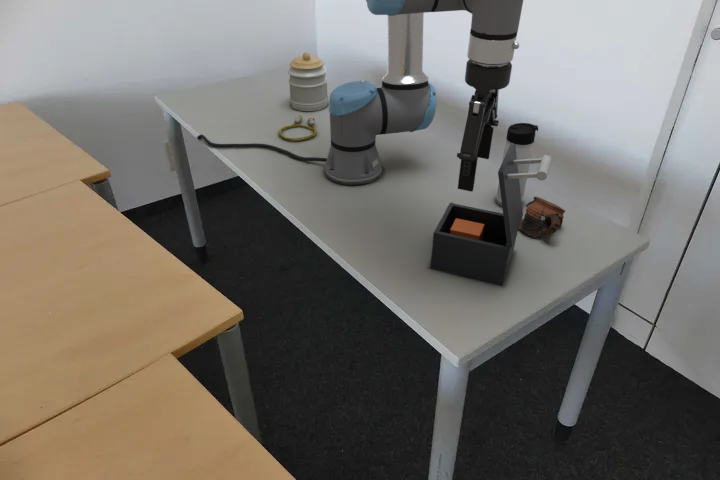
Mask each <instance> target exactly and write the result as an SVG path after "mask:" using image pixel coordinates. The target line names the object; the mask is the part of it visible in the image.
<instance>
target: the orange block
mask: <svg viewBox="0 0 720 480" xmlns="http://www.w3.org/2000/svg"><path fill="white" fill-rule="evenodd" d="M484 225H485V224H481V223H477V222H472V221H467V220H462V219H457V218H456V219H455V221H454V223H453V225H452V227H451V229H450V234H453V235H458V236H462V237H467V238H471V239H476V240H480V241H482V237H483V231H484Z"/></svg>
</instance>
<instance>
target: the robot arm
mask: <svg viewBox="0 0 720 480" xmlns="http://www.w3.org/2000/svg"><path fill="white" fill-rule="evenodd" d="M365 2H366V6H367V9H368V11H369V12H370V14H372V15H374V16H387V72H386V74H385V75H383V77H382V78H381V87H377V86H376V84H375V83H374V82H371V81H368V80H365V81H362V80H353V81H349V82H345V83H343V84H340V85H338V86H337V87H335V88H334V89H333V90H332V91H331V93H330V94H329V103H328V105H329V106H328V112H329V126H330V127H329V129H330V130H329V131H330V146H329V150H328V154H327V157H316V156H315V157H313V156H312V157H311V156H310V157H308V156H307V157H306V156H300V155H297V154H295V153H294V152H291V151H289V150H286V149H283V148H281V147H278V146H275V145H273V144H272V145H271V144H266V143H257V142H256V143H215V142H211V141H210V140H209V139H208V138H207V137H206V136H205V135H204V134H199V135H198V136H197V137H196V139H197V140H201V139H202V140H203V142H204V143H206V144H207V145H208V146H211V147H214V148H264V149H270V150H274V151H277V152H279V153H282V154H284V155H286V156H289V157H291V158H293V159H295V160H298V161H302V162H323V163H324V162H325V165H324V174H325V176H326V177H327V179H328V180H330V181H332V182H334V183H337V184H339V185H346V186H362V185H367V184H369V183H372V182H374V181H377V180H378V179H379V178H380V177H381V176H382V174H383V164H382V161H381V157H380V154H379V151H378V149H377V146H376V145H377V144H376V136H380V135H389V134H398V133H399V134H400V133H408V132H409V133H414V132H416V131H421V130H426V129H428V128H429V127H430V125H431V124H432V122H433V120H434V118H435V115H436V110H437V96H436V94H437V92H436V88H435V86H434V85H433V84H432V83H430V82H429V76H427V74H426V73H425V72H424V70H423V69H424V68H423V66H424V65H423V64H424V63H423V61H424V14H425V13H441V12H454V11H455V12H457V11H466V12H467V13H470V14H471V23H470V32H469V38H468V45H467V46H468V47H467V55H466V56H467V58H468V60H467V61H466V66H465V72H464V73H465V75H464V81H465V83H466V85H468V86H469V87H471V88H474V89H475V91H474V94H472V95H471V97H470V101H469V102H468V111H467V117H466V121H465V127H464V130H463V136H462V140H461V145H460V150H459V152H457V153H456V158H458V160H460V166H459V173H458V183H457V190H462V191H466V192H470V193H471V192H473V191H474V186H475V179H476V173H477V165H478V161H479V159H478V158H480V159H484V160H489V159H490V153H491V148H492V141H493V135H494V130H495V129H494V127H498V126H499V122H500V121H499V120H497V118H498V109H499V108H498V106H499V91H500V90H502V89H505V88H507V87H508V86H509V85H510V81H511V75H512V70H513V64H512V61H513V60H514V54H515V50H518V49H519V48H520V43H519V42H516V41H517V36H518V32H519V27H520V21H521V16H522V10H523V3H524V0H365Z"/></svg>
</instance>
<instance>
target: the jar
mask: <svg viewBox="0 0 720 480" xmlns="http://www.w3.org/2000/svg"><path fill="white" fill-rule="evenodd" d="M324 65H325V61H324V60H322V59H320V57H317V56H314V55H311V54H310V52H307V51H305V52H303V53H302V55H301V56H297V57H294V59H293V60H291V61H290V62H289V66H290V67H289V68H288V69H287V74H288V75H289V79H288V85H289V86H288V87H289V103H290V106H291V108H293V109H294V110H296V111H301V112H314V111H319V110H323V109H324V108H326V107H327V106H328V105H329V103H328V102H329V96H328V78H327V75H326V74H327V72H328V69H327V67H326V66H324Z"/></svg>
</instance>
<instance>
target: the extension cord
mask: <svg viewBox="0 0 720 480" xmlns="http://www.w3.org/2000/svg"><path fill="white" fill-rule="evenodd" d="M302 120H303V116H302V115H298V116H297V117H295V119H294V122H293V123H292V124H290V125H286V126H283V127H281V128H280V130H279V131H278V136H279V137H280V138H281V139H282V140H285V141H288V142H304V141H308V140H311V139H313V138H315V136H316V135H317V133H318V132H317V130H316V127H315V124H316V121H315V120H316V119H315V118H314V117H309V118H307V123H308V124H309V126H308V125H304V124H300V123H302ZM292 128H293V129H294V128H304V129H308V130H311V131H313V133H312V134H310V135H306V136H302V137H287V136H284V135H282V132H283V131H284V130H287V129H292Z"/></svg>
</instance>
